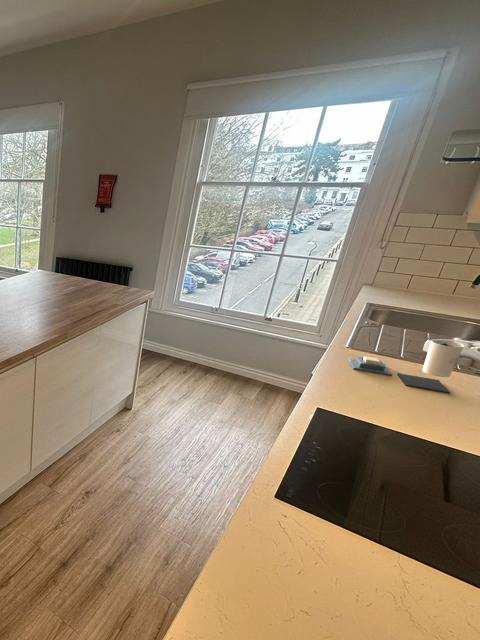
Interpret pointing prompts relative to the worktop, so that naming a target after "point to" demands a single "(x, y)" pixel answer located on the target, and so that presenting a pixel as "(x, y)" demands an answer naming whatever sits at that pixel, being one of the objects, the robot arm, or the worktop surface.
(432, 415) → the worktop surface
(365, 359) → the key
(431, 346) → the white mug
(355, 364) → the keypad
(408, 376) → the coaster
